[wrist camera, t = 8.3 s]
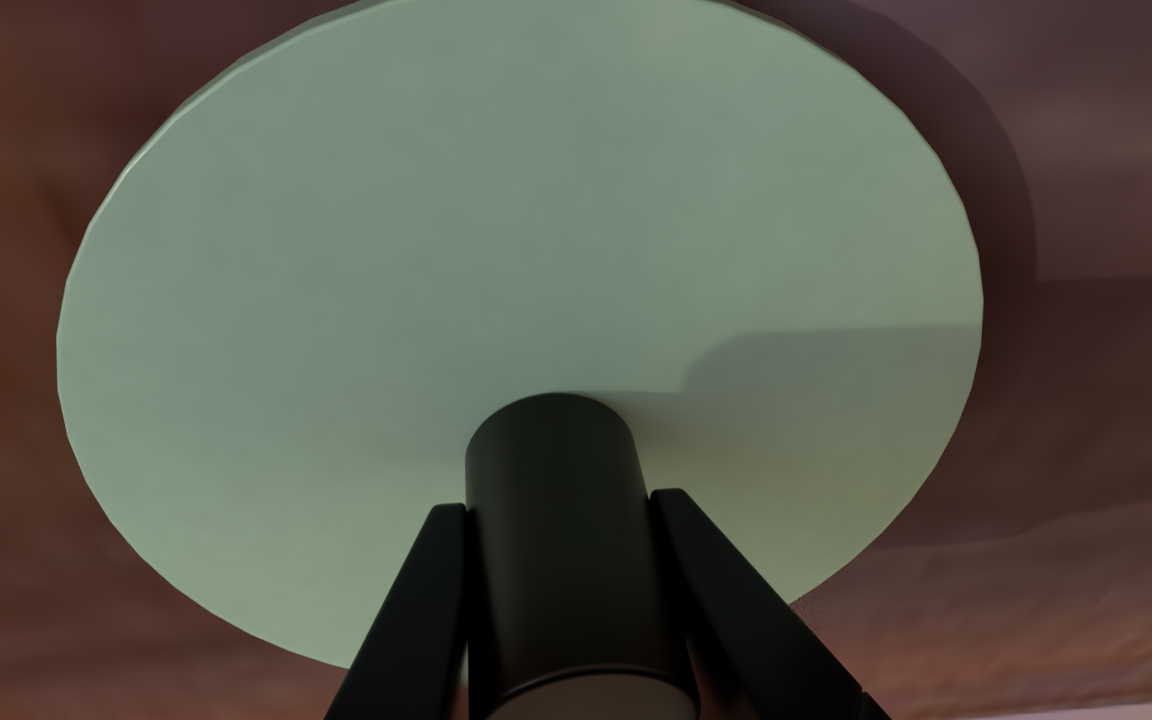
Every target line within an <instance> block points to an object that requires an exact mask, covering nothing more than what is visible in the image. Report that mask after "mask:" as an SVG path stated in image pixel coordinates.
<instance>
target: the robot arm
mask: <svg viewBox="0 0 1152 720" xmlns="http://www.w3.org/2000/svg"><path fill="white" fill-rule="evenodd" d="M649 501H650V505H651V509H652V513H653V517H654V520H655V524H656V528H657V532H658V536H659V540H660V544H661V548H662V551H663V555H664V559H665V563H666V567H667V571H668V575H669V579H670V583H671V586H672V590H673V594H674V598H675V602H676V606H677V610H678V614H679V617H680V621H681V625H682V629H683V633H684V637H685V641H686V645H687V648H688V652H689V656H690V660H691V664H692V668H693V672H694V676H695V679H696V683H697V687H698V691H699V695H700V699H701V711H700V717H699V720H892V719H891V718H890V717H889V716H888V715H887V714H886V713H885V712H884V710H883V709H882V708H881V707H880V706H879V705H878V704H877V703H876V702H875V700H874V699H873V698H872V697H871V696H870V695H869V694H868V693H867V692H862V687H861V685H860V684H859V683H858V682H857V681H856V680H855V679H854V677H853V676H852V675H851V674H850V673H849V672H848V671H847V670H846V669H845V667H844V666H843V665H842V664H841V663H840V662H839V661H838V660H837V659H836V657H835V656H834V655H833V654H832V653H831V652H830V651H829V650H828V649H827V648H826V646H825V645H824V644H823V643H822V642H821V641H820V640H819V639H818V638H817V636H816V635H815V634H814V633H813V632H812V631H811V630H810V629H809V628H808V626H807V625H806V624H805V623H804V622H803V621H802V620H801V619H800V618H799V616H798V615H797V614H796V613H795V612H794V611H793V610H792V609H791V608H790V607H789V605H788V604H787V603H786V602H785V601H784V600H783V599H782V598H781V597H780V595H779V594H778V593H777V592H776V591H775V590H774V589H773V588H772V587H771V585H770V584H769V583H768V582H767V581H766V580H765V579H764V578H763V577H762V575H761V574H760V573H759V572H758V571H757V570H756V569H755V568H754V567H753V566H752V564H751V563H750V562H749V561H748V560H747V559H746V558H745V557H744V556H743V554H742V553H741V552H740V551H739V550H738V549H737V548H736V547H735V546H734V544H733V543H732V542H731V541H730V540H729V539H728V538H727V537H726V536H725V534H724V533H723V532H722V531H721V530H720V529H719V528H718V527H717V526H716V525H715V523H714V522H713V521H712V520H711V519H710V518H709V517H708V516H707V515H706V513H705V512H704V511H703V510H702V509H701V508H700V507H699V506H698V505H697V503H696V502H695V501H694V500H693V499H692V498H691V497H690V496H689V495H688V493H687V492H686V491H684V490H683V489H681V488H664V489H655V490H653V491H652V492H651V495H650V498H649ZM467 635H468V559H467V511H466V506H465V505H464V504H463V503H460V502H458V503H444V504H436V505H434V506H433V507H432V509H431V510H430V512H429V514H428V516H427V518H426V519H425V521H424V523H423V525H422V527H421V529H420V531H419V533H418V535H417V537H416V539H415V541H414V543H413V545H412V547H411V549H410V551H409V553H408V555H407V557H406V559H405V561H404V563H403V565H402V566H401V568H400V570H399V572H398V574H397V576H396V578H395V580H394V582H393V584H392V586H391V588H390V590H389V592H388V594H387V596H386V598H385V600H384V602H383V604H382V606H381V608H380V610H379V612H378V614H377V615H376V617H375V619H374V621H373V623H372V625H371V627H370V629H369V631H368V633H367V635H366V637H365V639H364V641H363V643H362V645H361V647H360V649H359V651H358V653H357V655H356V657H355V659H354V661H353V663H352V664H351V666H350V668H349V670H348V672H347V674H346V676H345V678H344V680H343V682H342V684H341V686H340V688H339V690H338V692H337V694H336V696H335V698H334V700H333V702H332V704H331V706H330V708H329V710H328V711H327V713H326V715H325V717H324V719H323V720H469V705H468V636H467Z"/></svg>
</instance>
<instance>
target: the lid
mask: <svg viewBox="0 0 1152 720" xmlns="http://www.w3.org/2000/svg"><path fill="white" fill-rule="evenodd" d="M983 305H984V298H983V289H982V280H981V272H980V263H979V255H978V250H977V246H976V243H975V240H974V237H973V233H972V230H971V227H970V224H969V220H968V217H967V214H966V211H965V207H964V204H963V202H962V200H961V198H960V196H959V194H958V192H957V190H956V189H955V187H954V185H953V183H952V181H951V179H950V177H949V175H948V173H947V171H946V170H945V168H944V166H943V164H942V162H941V160H940V158H939V156H938V155H937V154H936V152H935V151H934V150H933V149H932V147H931V146H930V145H929V144H928V142H927V141H926V140H925V138H924V137H923V136H922V135H921V133H920V132H919V131H918V130H917V128H916V127H915V126H914V125H913V123H912V122H911V121H910V120H909V118H908V117H907V116H906V115H905V113H904V112H903V111H902V110H901V109H900V108H899V107H898V106H897V105H896V104H894V103H893V102H892V101H891V100H890V99H889V98H888V97H886V96H885V95H884V94H883V93H882V92H881V91H880V90H878V89H877V88H876V87H875V86H874V85H873V84H872V83H870V82H869V81H868V80H867V79H866V78H865V77H864V76H862V75H861V74H860V73H859V72H858V71H857V70H856V69H854V68H853V67H852V66H851V65H850V64H848V63H847V62H846V61H845V60H843V59H842V58H841V57H840V56H838V55H836V54H835V53H833V52H832V51H830V50H828V49H827V48H825V47H823V46H822V45H820V44H819V43H817V42H815V41H814V40H812V39H810V38H809V37H807V36H805V35H804V34H802V33H801V32H799V31H797V30H796V29H794V28H792V27H791V26H789V25H787V24H786V23H784V22H783V21H781V20H778V19H776V18H773V17H771V16H768V15H766V14H763V13H761V12H759V11H756V10H754V9H751V8H749V7H746V6H744V5H741V4H739V3H737V2H734V1H732V0H361V1H358V2H355V3H352V4H350V5H347V6H344V7H341V8H339V9H336V10H333V11H330V12H328V13H325V14H322V15H319V16H317V17H314V18H312V19H310V20H308V21H306V22H304V23H302V24H301V25H299V26H297V27H295V28H293V29H291V30H289V31H288V32H286V33H284V34H282V35H280V36H278V37H277V38H275V39H273V40H271V41H269V42H267V43H266V44H264V45H262V46H260V47H258V48H256V49H255V50H253V51H251V52H249V53H247V54H245V55H244V56H242V57H241V58H239V59H238V60H237V61H236V62H234V63H233V64H232V65H230V66H229V67H228V68H226V69H225V70H224V71H223V72H221V73H220V74H219V75H217V76H216V77H215V78H214V79H212V80H211V81H210V82H208V83H207V84H206V85H204V86H203V87H202V88H201V89H199V90H198V91H197V92H195V93H194V94H193V95H191V96H190V97H189V98H188V99H186V100H185V101H184V102H183V103H182V104H181V105H180V106H179V107H178V108H177V109H176V110H175V111H174V112H173V114H172V115H171V116H170V117H169V118H168V119H167V120H166V121H165V122H164V123H163V124H162V125H161V127H160V128H159V129H158V130H157V131H156V132H155V133H154V134H153V135H152V136H151V137H150V138H149V140H148V141H147V142H146V143H145V144H144V145H143V146H142V147H141V148H140V149H139V150H138V151H137V152H136V154H135V155H134V156H133V158H132V159H131V160H130V161H129V163H128V164H127V165H126V167H125V168H124V169H123V171H122V172H121V174H120V176H119V177H118V179H117V180H116V182H115V183H114V185H113V187H112V188H111V190H110V191H109V193H108V194H107V196H106V198H105V199H104V201H103V202H102V204H101V205H100V207H99V209H98V210H97V212H96V213H95V215H94V216H93V218H92V219H91V221H90V223H89V224H88V227H87V229H86V232H85V234H84V237H83V239H82V242H81V245H80V247H79V250H78V252H77V255H76V257H75V260H74V262H73V265H72V267H71V270H70V272H69V275H68V277H67V280H66V285H65V291H64V296H63V302H62V307H61V313H60V318H59V324H58V329H57V335H56V338H57V389H58V394H59V398H60V403H61V408H62V412H63V417H64V422H65V427H66V431H67V436H68V439H69V442H70V444H71V447H72V449H73V451H74V454H75V456H76V459H77V461H78V464H79V466H80V468H81V471H82V473H83V476H84V478H85V481H86V483H87V484H88V486H89V488H90V489H91V491H92V492H93V494H94V496H95V497H96V499H97V500H98V502H99V504H100V505H101V507H102V508H103V510H104V512H105V513H106V515H107V517H108V518H109V520H110V521H111V523H112V524H113V525H114V526H115V527H116V528H117V530H118V531H119V532H120V533H121V534H122V536H123V537H124V538H125V539H126V540H127V541H128V543H129V544H130V545H131V546H132V547H133V548H134V550H135V551H136V552H137V553H138V554H139V555H140V557H141V558H143V559H144V560H145V561H146V562H147V563H148V564H149V565H150V566H152V567H153V568H154V569H155V570H156V571H157V572H158V573H159V574H160V575H162V576H163V577H164V578H165V579H166V580H167V581H168V582H169V583H170V584H172V585H173V586H174V587H175V588H177V589H178V590H179V591H181V592H182V593H184V594H185V595H187V596H188V597H189V598H191V599H192V600H194V601H195V602H197V603H198V604H199V605H201V606H202V607H204V608H205V609H207V610H208V611H209V612H211V613H213V614H214V615H216V616H218V617H220V618H222V619H223V620H225V621H227V622H229V623H231V624H233V625H234V626H236V627H238V628H240V629H242V630H243V631H245V632H247V633H249V634H251V635H253V636H256V637H258V638H260V639H263V640H265V641H267V642H270V643H272V644H274V645H277V646H279V647H281V648H284V649H286V650H288V651H291V652H294V653H297V654H300V655H303V656H306V657H309V658H312V659H315V660H318V661H321V662H324V663H327V664H330V665H334V666H338V667H343V668H347V669H349V668H350V666H351V664H352V663H353V661H354V659H355V657H356V655H357V653H358V651H359V649H360V647H361V645H362V643H363V641H364V639H365V637H366V635H367V633H368V631H369V629H370V627H371V625H372V623H373V621H374V619H375V617H376V615H377V614H378V612H379V610H380V608H381V606H382V604H383V602H384V600H385V598H386V596H387V594H388V592H389V590H390V588H391V586H392V584H393V582H394V580H395V578H396V576H397V574H398V572H399V570H400V568H401V566H402V565H403V563H404V561H405V559H406V557H407V555H408V553H409V551H410V549H411V547H412V545H413V543H414V541H415V539H416V537H417V535H418V533H419V531H420V529H421V527H422V525H423V523H424V521H425V519H426V518H427V516H428V514H429V512H430V510H431V509H432V507H433V506H434V505H436V504H444V503H458V502H460V503H463V504H464V505H465V506H466V511H467V559H468V635H467V636H468V705H469V720H699V717H700V711H701V699H700V695H699V691H698V687H697V683H696V679H695V676H694V672H693V668H692V664H691V660H690V656H689V652H688V648H687V645H686V641H685V637H684V633H683V629H682V625H681V621H680V617H679V614H678V610H677V606H676V602H675V598H674V594H673V590H672V586H671V583H670V579H669V575H668V571H667V567H666V563H665V559H664V555H663V551H662V548H661V544H660V540H659V536H658V532H657V528H656V524H655V520H654V517H653V513H652V509H651V505H650V501H649V498H650V495H651V492H652V491H653V490H655V489H664V488H681V489H683V490H684V491H686V492H687V493H688V495H689V496H690V497H691V498H692V499H693V500H694V501H695V502H696V503H697V505H698V506H699V507H700V508H701V509H702V510H703V511H704V512H705V513H706V515H707V516H708V517H709V518H710V519H711V520H712V521H713V522H714V523H715V525H716V526H717V527H718V528H719V529H720V530H721V531H722V532H723V533H724V534H725V536H726V537H727V538H728V539H729V540H730V541H731V542H732V543H733V544H734V546H735V547H736V548H737V549H738V550H739V551H740V552H741V553H742V554H743V556H744V557H745V558H746V559H747V560H748V561H749V562H750V563H751V564H752V566H753V567H754V568H755V569H756V570H757V571H758V572H759V573H760V574H761V575H762V577H763V578H764V579H765V580H766V581H767V582H768V583H769V584H770V585H771V587H772V588H773V589H774V590H775V591H776V592H777V593H778V594H779V595H780V597H781V598H782V599H783V600H784V601H785V602H786V603H787V604H790V603H792V602H793V601H795V600H796V599H798V598H800V597H801V596H803V595H804V594H806V593H807V592H809V591H811V590H812V589H814V588H815V587H817V586H818V585H820V584H821V583H822V582H824V581H825V580H826V579H828V578H829V577H830V576H832V575H833V574H834V573H836V572H837V571H838V570H840V569H841V568H842V567H844V566H845V565H846V564H848V563H849V562H850V561H851V560H853V559H854V558H855V557H856V556H857V555H858V554H859V553H860V552H861V551H862V550H864V549H865V548H866V547H867V546H868V545H869V544H870V543H871V542H872V541H873V540H874V539H876V538H877V537H878V536H879V535H880V534H881V533H882V532H883V531H884V530H885V529H886V528H887V527H888V526H889V524H890V523H891V522H892V521H893V520H894V519H895V518H896V517H897V515H898V514H899V513H900V512H901V511H902V510H903V509H904V508H905V507H906V505H907V504H908V503H909V502H910V501H911V500H912V498H913V497H914V495H915V494H916V493H917V491H918V490H919V488H920V487H921V486H922V484H923V483H924V482H925V480H926V479H927V477H928V476H929V475H930V473H931V472H932V470H933V469H934V468H935V466H936V464H937V462H938V461H939V459H940V457H941V455H942V453H943V452H944V450H945V448H946V446H947V444H948V442H949V441H950V439H951V437H952V435H953V433H954V432H955V430H956V427H957V425H958V422H959V420H960V417H961V414H962V412H963V409H964V407H965V404H966V401H967V399H968V396H969V394H970V391H971V388H972V384H973V380H974V375H975V371H976V366H977V362H978V357H979V353H980V348H981V339H982V322H983Z"/></svg>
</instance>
